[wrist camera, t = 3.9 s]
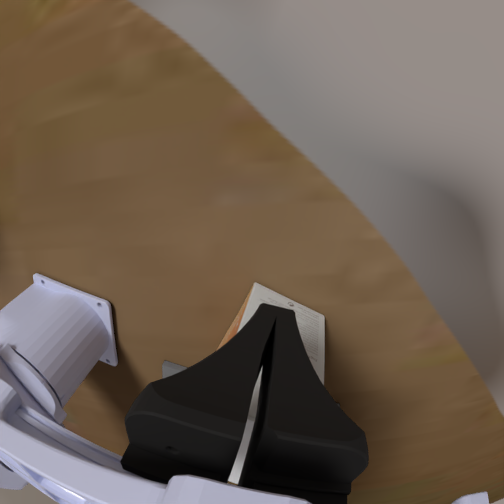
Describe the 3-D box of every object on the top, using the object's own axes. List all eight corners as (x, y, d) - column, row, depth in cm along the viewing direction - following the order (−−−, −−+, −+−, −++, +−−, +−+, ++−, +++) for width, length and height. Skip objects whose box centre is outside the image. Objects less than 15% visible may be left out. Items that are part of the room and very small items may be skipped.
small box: (255, 278, 22) (211, 401, 12) (327, 314, 22) (324, 444, 12) (213, 351, 25) (168, 459, 16) (274, 379, 25) (251, 490, 16)
